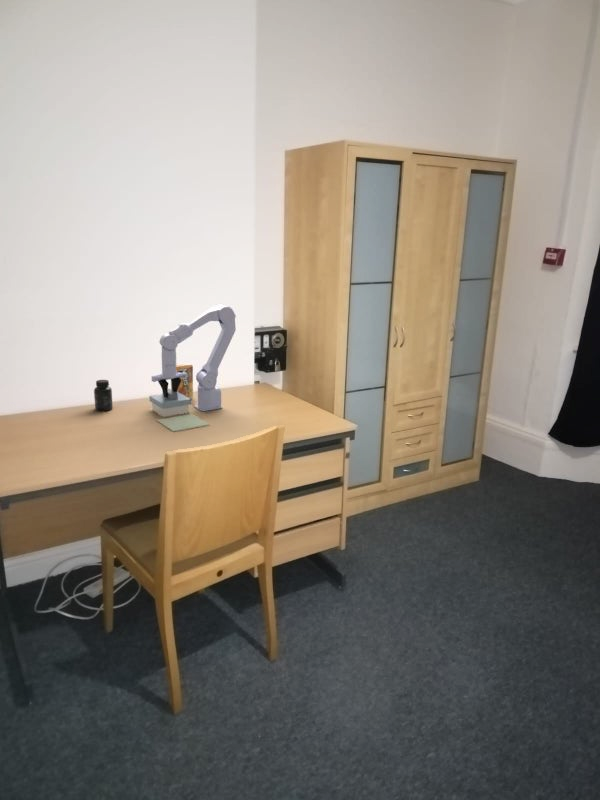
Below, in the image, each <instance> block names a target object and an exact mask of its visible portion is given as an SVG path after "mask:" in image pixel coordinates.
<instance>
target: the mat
mask: <svg viewBox="0 0 600 800" xmlns="http://www.w3.org/2000/svg"><path fill="white" fill-rule="evenodd" d="M156 422H158V423H159V422H160V424H161V425H162V424H163V427H165V428H167V429H169V430H170V431H171V430H172V432H173V433H175V431H176V432H180V431H181V432H182V431H186V430H191V428H192V429H197V428H196V427H198V428H203V427H207V426H208V427H209V426H210V423H208V422H206V421H205V420H203V419H202V418H199V416H196V415H194V414H192V413H190V414H189V413H188V414H182V415H176V416H170V417H164V418H160V419H156ZM202 426H203V427H202Z"/></svg>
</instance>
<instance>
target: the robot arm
mask: <svg viewBox="0 0 600 800" xmlns="http://www.w3.org/2000/svg"><path fill="white" fill-rule="evenodd" d="M236 317H237V316H236V314H235V311H234V310H233V308H232V307H230V306H226V305H225V304H223V303H219V304H216V305H214V306H212V307H210V308H209V309H207V311H205V312H203V313H202V314H200V315H199V316H198V317H196V318H194V320H192V321H191V322H190V323H186V322H185V323H184V322H183V323H180V324H178V327H175V328H174V329H172V330H169V331H168V333H165V334H163V335H162V336H160V339H159V344H160V345H161V373H160V374H157V375H152V376H151V382H153V383H155V382H158V384H159V385H160V388H161V390H163V392H162V394H164V397H166V398H168V389H169V382H168V381H167V380H170V384H171V383H172V390H173V391H174V392H176V393H177V390H178V387H179V385H180V383H181V379H180V378H187V373H185V372H182V373H177V368H176V365H177V352H176V351H177V350H176V349H177V347H178V345H179V344H181V343H182V342H184V341H186V340H188V339H189V338H190V337H192V336H193V333H194V331H196V330H197V329H199V328H201V327H203V326H204V325H206V324H208V323H210V322H218V323H219V326H220V328H221V331H220V333H219V335H218V337H217V339H216V341H215V344H214V346H213V348H212V351H211V353H210V355H209V357H208V359H207V360H206V363H205V364H203V366H202V367H201V369H200V370H199V371H198V372H197V373H196V376H195V380H196V381H197V383H198V384H197V404H195V405H194V406H193V407H194V408H196V409H198V410H199V411H201V412H206V411H213V410H218V409H222V408H223V406H222V390H221V388H220V387H219V386H216V385H217V381H218V380H217V379H218V375H219V367H220V365H221V362H222V361H223V359H224V356H225V355H226V352H227V350H228V348H229V345H230V343H231V341H232V338H233V337H234V335H235V332H236Z"/></svg>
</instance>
